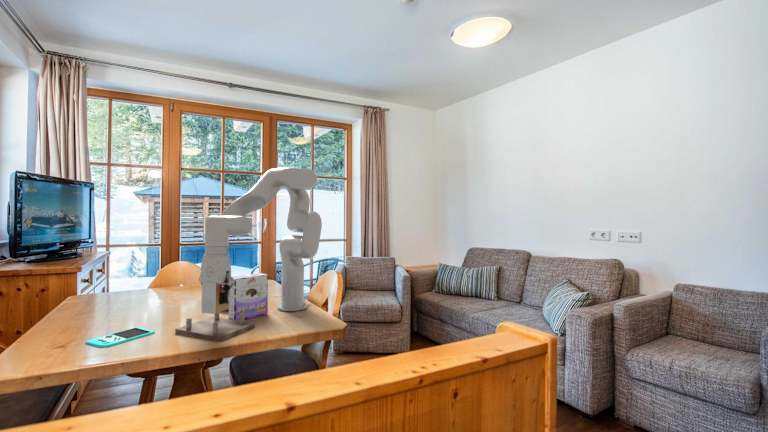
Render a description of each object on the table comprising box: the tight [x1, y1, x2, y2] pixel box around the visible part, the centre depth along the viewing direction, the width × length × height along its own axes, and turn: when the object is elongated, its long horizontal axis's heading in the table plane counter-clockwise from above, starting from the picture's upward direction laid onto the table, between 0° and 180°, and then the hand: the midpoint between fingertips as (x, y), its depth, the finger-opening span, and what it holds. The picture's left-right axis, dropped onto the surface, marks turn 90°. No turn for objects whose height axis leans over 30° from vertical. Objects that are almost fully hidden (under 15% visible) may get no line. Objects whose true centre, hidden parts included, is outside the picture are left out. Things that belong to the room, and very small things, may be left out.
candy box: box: [228, 272, 269, 321], centre depth 147 cm, size 14×6×16 cm, turn 135°
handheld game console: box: [85, 326, 156, 348], centre depth 121 cm, size 10×16×1 cm, turn 154°
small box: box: [201, 282, 230, 315], centre depth 129 cm, size 8×6×10 cm
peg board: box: [174, 312, 256, 343], centre depth 130 cm, size 16×20×5 cm
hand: (216, 301), depth 129 cm, fingers closed on small box, 6 cm apart
